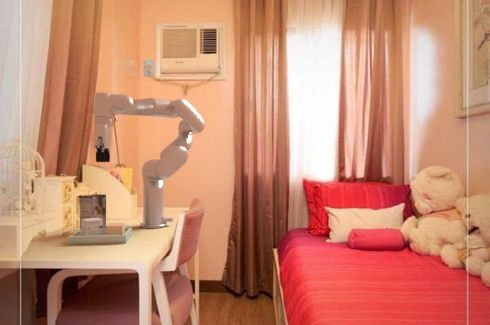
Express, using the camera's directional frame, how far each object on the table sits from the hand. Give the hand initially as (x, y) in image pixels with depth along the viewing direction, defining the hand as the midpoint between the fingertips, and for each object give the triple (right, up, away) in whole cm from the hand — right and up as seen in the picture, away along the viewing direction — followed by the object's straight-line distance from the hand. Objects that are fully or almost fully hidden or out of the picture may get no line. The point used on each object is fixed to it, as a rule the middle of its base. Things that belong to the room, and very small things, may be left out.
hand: (103, 162), depth 138 cm
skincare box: (+1, -30, -13) cm, 32 cm away
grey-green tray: (+5, -30, -12) cm, 33 cm away
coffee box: (-4, -31, 0) cm, 31 cm away
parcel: (+10, -30, -11) cm, 34 cm away
